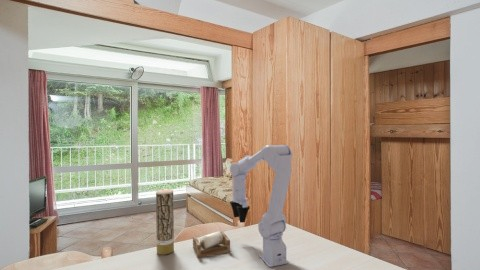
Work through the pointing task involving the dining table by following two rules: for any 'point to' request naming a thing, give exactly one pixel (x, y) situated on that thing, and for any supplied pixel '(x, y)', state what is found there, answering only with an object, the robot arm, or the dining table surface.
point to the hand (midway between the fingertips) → (239, 219)
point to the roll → (211, 240)
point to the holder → (213, 250)
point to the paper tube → (164, 221)
